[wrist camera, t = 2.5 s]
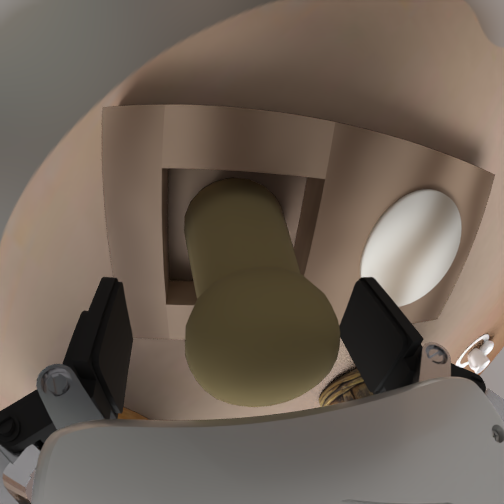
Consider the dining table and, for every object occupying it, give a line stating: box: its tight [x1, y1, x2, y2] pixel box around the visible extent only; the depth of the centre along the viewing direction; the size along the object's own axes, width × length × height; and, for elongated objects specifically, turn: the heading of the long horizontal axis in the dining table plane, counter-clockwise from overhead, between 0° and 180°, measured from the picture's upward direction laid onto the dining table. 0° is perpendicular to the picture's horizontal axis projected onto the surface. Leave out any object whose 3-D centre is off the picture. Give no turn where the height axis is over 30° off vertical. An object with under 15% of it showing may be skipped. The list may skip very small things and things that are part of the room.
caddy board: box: [102, 104, 495, 340], centre depth 17 cm, size 26×14×3 cm, turn 84°
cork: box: [184, 178, 340, 407], centre depth 13 cm, size 6×6×11 cm
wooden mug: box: [319, 369, 373, 407], centre depth 21 cm, size 9×14×18 cm, turn 39°
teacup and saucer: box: [456, 334, 494, 374], centre depth 33 cm, size 9×8×4 cm
